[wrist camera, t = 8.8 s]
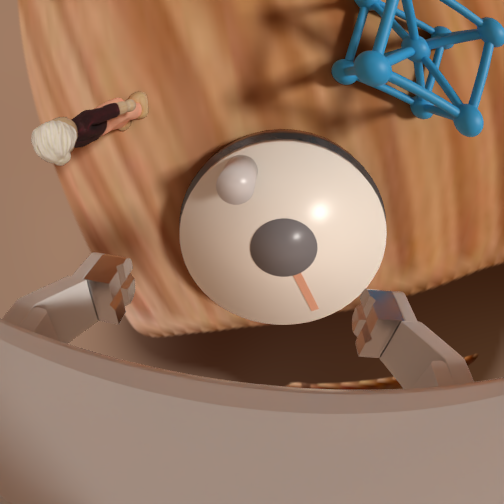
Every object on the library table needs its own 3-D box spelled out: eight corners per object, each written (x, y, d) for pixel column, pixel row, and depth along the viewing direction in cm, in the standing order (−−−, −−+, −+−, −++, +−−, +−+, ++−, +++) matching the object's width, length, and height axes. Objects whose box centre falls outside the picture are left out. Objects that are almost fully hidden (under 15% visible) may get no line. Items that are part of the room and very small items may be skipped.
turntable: (147, 198, 27) (121, 224, 22) (339, 103, 21) (357, 109, 17) (242, 333, 35) (237, 369, 31) (399, 279, 30) (415, 313, 25)
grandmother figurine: (142, 73, 23) (55, 80, 12) (165, 103, 24) (89, 126, 13) (90, 125, 25) (2, 163, 15) (111, 152, 27) (29, 202, 16)
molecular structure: (448, 35, 18) (513, 29, 9) (423, 121, 23) (483, 146, 14) (354, -13, 17) (391, -52, 8) (326, 79, 22) (354, 77, 14)
